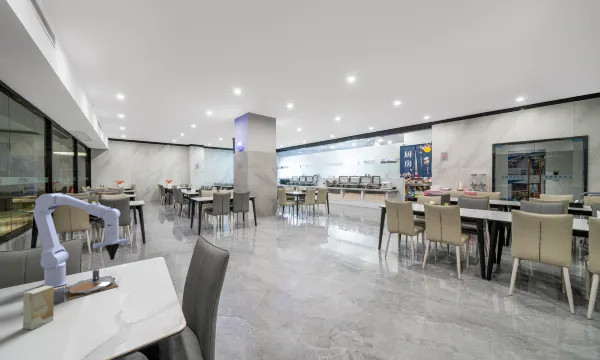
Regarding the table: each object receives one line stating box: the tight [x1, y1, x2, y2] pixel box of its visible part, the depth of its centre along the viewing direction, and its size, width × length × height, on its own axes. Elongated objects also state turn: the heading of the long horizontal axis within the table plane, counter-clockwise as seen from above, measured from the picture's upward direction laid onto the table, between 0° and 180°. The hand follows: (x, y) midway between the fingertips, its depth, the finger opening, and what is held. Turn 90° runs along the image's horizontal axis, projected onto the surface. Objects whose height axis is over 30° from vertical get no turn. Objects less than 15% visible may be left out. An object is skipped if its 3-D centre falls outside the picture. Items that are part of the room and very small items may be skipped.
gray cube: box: [54, 286, 66, 305], centre depth 98 cm, size 4×6×5 cm, turn 137°
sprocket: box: [64, 269, 116, 295], centre depth 112 cm, size 18×18×6 cm
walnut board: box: [64, 275, 119, 301], centre depth 112 cm, size 18×17×1 cm
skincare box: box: [22, 286, 55, 330], centre depth 84 cm, size 6×4×12 cm
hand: (112, 259), depth 122 cm, fingers closed
